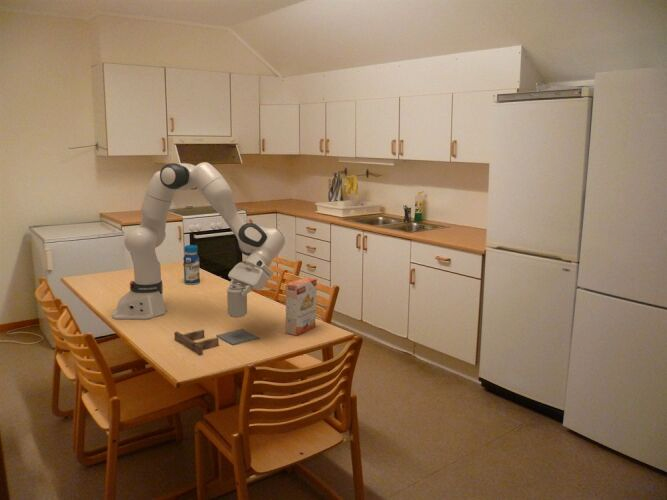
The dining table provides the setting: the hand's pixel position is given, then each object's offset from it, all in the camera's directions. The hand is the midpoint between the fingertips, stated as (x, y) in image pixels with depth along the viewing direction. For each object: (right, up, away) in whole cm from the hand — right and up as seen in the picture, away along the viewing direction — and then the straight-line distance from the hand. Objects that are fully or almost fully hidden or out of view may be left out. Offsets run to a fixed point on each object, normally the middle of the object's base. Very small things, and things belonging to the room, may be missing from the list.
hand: (235, 292), depth 219 cm
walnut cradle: (-13, -19, -3) cm, 23 cm away
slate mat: (0, -18, +4) cm, 18 cm away
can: (0, -9, +2) cm, 9 cm away
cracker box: (+24, -16, +14) cm, 33 cm away
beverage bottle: (-37, -1, +82) cm, 90 cm away
